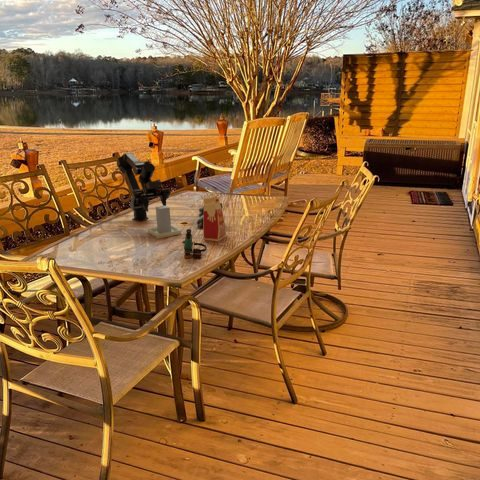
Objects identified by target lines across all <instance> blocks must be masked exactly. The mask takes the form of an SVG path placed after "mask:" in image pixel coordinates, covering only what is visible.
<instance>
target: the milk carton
mask: <svg viewBox="0 0 480 480" xmlns="http://www.w3.org/2000/svg"><path fill="white" fill-rule="evenodd" d="M202 200H203V206H204V215H203V226H202V229H203V230H202V231H203V236H202V237H203V240H204V241H205V240H206V241H215V242H219V241H221V240H222V239H224V238H225V237H226V236H227V229H226V222H225V217H224V213H223V207H222V208H221V205H220V203H221V201H220V199H219V198H218V195H215V196H214V195H213V196H212V197H206V198H205V197H204V198H202Z"/></svg>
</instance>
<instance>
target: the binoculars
mask: <svg viewBox="0 0 480 480" xmlns="http://www.w3.org/2000/svg"><path fill="white" fill-rule="evenodd" d="M185 232H186V233H185V235H184V240H182V242H181V243H182V244H183V249H184V250H183V251H184V255H183V258H184V259H188V258H189V259H190V258H191V257H193V258H198V259H199V258H202V253H203V252H206V251H208V250H207V249H208V248H207V245H206V244H204V243H200V242H195V241H193V234H192V229H190V228H188V229H186V231H185ZM195 246H201V247H203V249H202V248H201V249H200V248H195Z"/></svg>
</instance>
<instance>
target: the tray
mask: <svg viewBox="0 0 480 480" xmlns="http://www.w3.org/2000/svg"><path fill="white" fill-rule="evenodd" d="M147 233H148V234H150V235H151V236H153V237H154V238H156V239H163V238H168V237H175V236H179V235H182V230H181V229H180V228H178V227H176V226H174V225H172V224H171V232H166V233H161V234H160V233H158V229H157V226H155V227H150V228H147Z"/></svg>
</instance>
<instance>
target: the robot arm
mask: <svg viewBox="0 0 480 480" xmlns="http://www.w3.org/2000/svg"><path fill="white" fill-rule="evenodd" d="M116 167H117V169H118V170H119V171H120V172H121V173H122V174H124V176H125V180H126V181H127V184H128V187H129V189H130V191H131V194H132V195H131V199H130V202H129V203H130V204H129V206H130V210H132V211H133V218H132V219H131V220H132V221H138V222H143V221H145V220H148V219H149V217H148V216H147V213H148V212H149V205H150V204H149V203H150V200H149V199H151V198H159V199H160V202H161V204H162V206H167V200H168V199H169V197H170V195H171V190H170V189H169V188H161V190H160V191H159V192H157V191H158V188H159V187H161V186H162V181H161V179H159V178H158V179H156V180H152V177H153V176H154V173H155V171H156V166H155V165H154V164H153V163H151V162H150V161H149V160H148V161H147V160H146V161H142V160H139V159H138V158H137V157H136V156H135V155H134V153H133V152H124V153H123V154H122V155H121V156H119V157H118V158H117V159H116ZM135 175H136V176H138V181H137V178H136V176H135ZM139 183H140V185H139ZM140 187H141V188H140Z"/></svg>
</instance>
